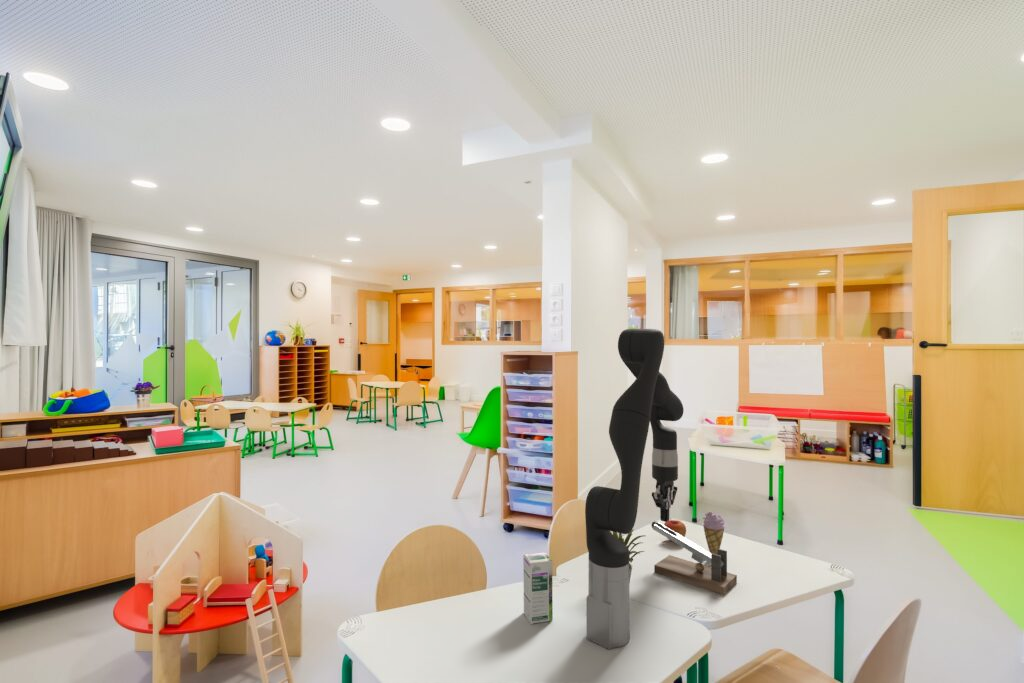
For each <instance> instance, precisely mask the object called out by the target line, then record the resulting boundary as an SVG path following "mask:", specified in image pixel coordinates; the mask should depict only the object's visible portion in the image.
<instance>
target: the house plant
mask: <svg viewBox="0 0 1024 683" xmlns="http://www.w3.org/2000/svg"><path fill="white" fill-rule="evenodd" d="M634 530H635V528H633V529H632V531H631V532H630V533H628V534H626V537H623V534H622V533H617V532H613V531H612V534H613V536H614V537H616V538H617V539H618V540H619V541H621V542H622V543H624V544H625V545H626V546H627V547H628V549H629V548H630V547H631V545H633V546H632V547H631V548H630V549H629V554H630V555H632V554H633V555H632V556H631V557H630V561H629V585H630V583H631V577H632V570H633V565H632V562H633V561H634V557H635V556H637V555H638V554H639V555H640V556H642V555H641V553H645V551H644V550H640V551H636V550H633V549H634V547H636V546H638V545H639V544H643V542H641V541H640V542H637V543H634V542H635V541H636V540H639V538H642V537H645V535H644V534H643V535H638V536H636V537H634V538H633V539H632V540H631V541H630V539H631V537H632V535H633V531H634ZM629 541H630V542H629Z"/></svg>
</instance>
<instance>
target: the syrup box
mask: <svg viewBox="0 0 1024 683" xmlns="http://www.w3.org/2000/svg"><path fill="white" fill-rule="evenodd" d="M522 558H523V559H522V560H523V563H522V564H523V613H524V615H525V617H526V618H527V621H528V623H529V624H530V625H533V624H538V623H544V622H545V623H546V622H552V621H553V615H554V614H553V559H551V557H550V556H549V554H547V553H546V551H544V552H539V553H529V554H527V553H525V554H523V557H522Z"/></svg>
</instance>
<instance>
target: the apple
mask: <svg viewBox="0 0 1024 683" xmlns="http://www.w3.org/2000/svg"><path fill="white" fill-rule="evenodd" d="M663 525H664V526H666V527H668V528H669V529H671V530H673V531H674V532H676V533H678V534H680V535H681V536H683V537H685V538H686V534H687V527H686V524H685V523H683V522H682V521H680V520H675V519H674V520H672V518H670V517H669V521H667V522H665V521H664V524H663ZM668 540H669V541H670V542H671V543H673V541H672V540H670V539H668Z"/></svg>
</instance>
